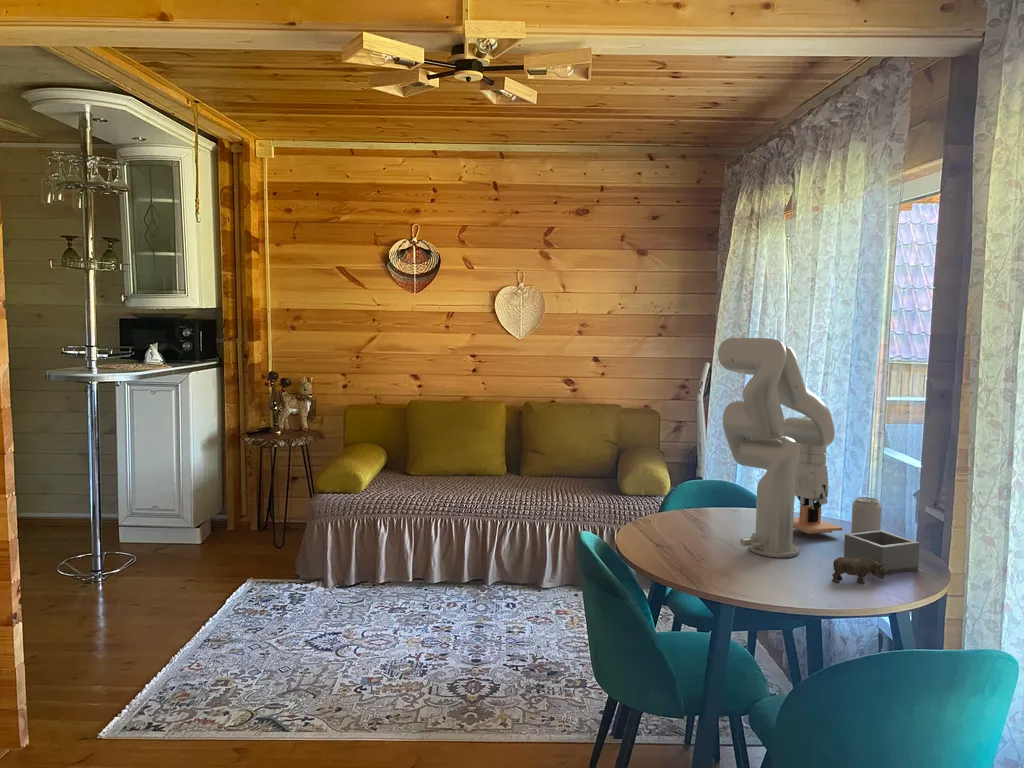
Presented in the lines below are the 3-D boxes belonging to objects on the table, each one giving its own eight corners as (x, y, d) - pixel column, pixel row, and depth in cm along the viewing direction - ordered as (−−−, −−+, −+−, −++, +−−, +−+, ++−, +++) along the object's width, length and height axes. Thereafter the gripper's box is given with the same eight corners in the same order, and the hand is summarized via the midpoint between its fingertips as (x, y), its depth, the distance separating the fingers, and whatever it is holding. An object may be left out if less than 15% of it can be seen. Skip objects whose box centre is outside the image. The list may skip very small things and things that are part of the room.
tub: (881, 575, 178) (882, 547, 178) (843, 560, 189) (844, 534, 189) (918, 570, 182) (919, 542, 182) (879, 555, 193) (880, 530, 193)
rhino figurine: (893, 585, 171) (895, 560, 171) (834, 584, 172) (835, 559, 172) (885, 579, 176) (887, 555, 175) (827, 578, 176) (828, 553, 176)
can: (877, 545, 203) (878, 503, 202) (848, 540, 207) (849, 499, 206) (882, 539, 209) (884, 498, 208) (854, 534, 213) (855, 494, 212)
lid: (807, 535, 205) (809, 511, 205) (777, 524, 217) (779, 501, 217) (841, 533, 210) (843, 510, 209) (810, 522, 221) (812, 500, 221)
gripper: (782, 454, 218) (780, 515, 219) (821, 464, 203) (819, 529, 204) (802, 453, 220) (800, 513, 222) (843, 462, 206) (840, 526, 207)
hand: (809, 520), depth 213 cm, fingers closed on lid
